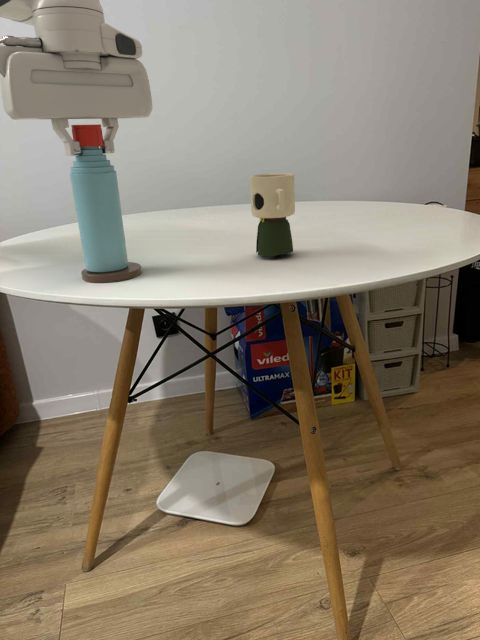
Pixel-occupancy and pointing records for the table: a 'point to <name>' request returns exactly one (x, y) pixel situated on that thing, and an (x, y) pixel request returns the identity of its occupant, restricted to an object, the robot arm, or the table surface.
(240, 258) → the table surface
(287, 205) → the character mug
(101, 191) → the bottle
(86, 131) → the cap
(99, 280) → the coaster
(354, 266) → the table surface
